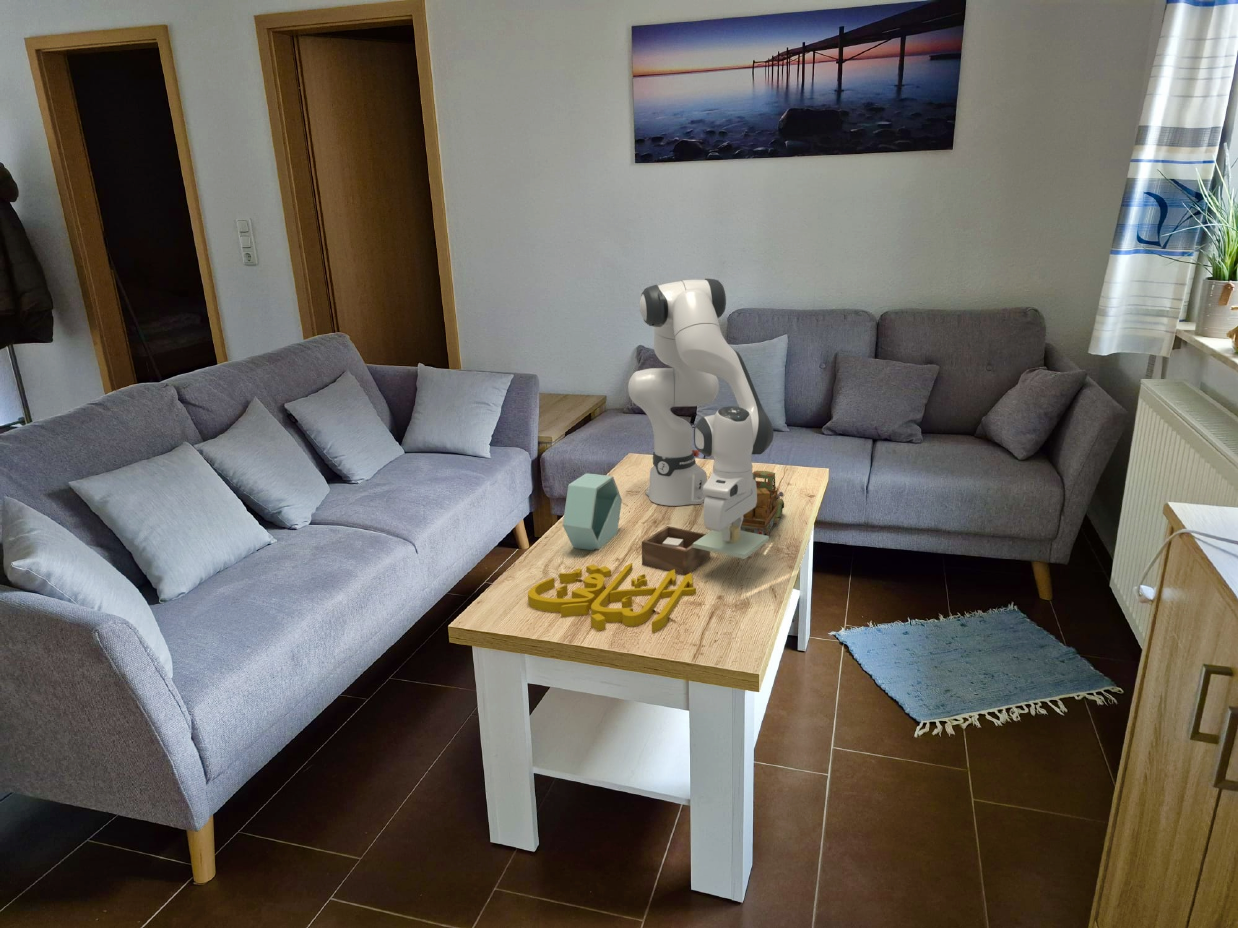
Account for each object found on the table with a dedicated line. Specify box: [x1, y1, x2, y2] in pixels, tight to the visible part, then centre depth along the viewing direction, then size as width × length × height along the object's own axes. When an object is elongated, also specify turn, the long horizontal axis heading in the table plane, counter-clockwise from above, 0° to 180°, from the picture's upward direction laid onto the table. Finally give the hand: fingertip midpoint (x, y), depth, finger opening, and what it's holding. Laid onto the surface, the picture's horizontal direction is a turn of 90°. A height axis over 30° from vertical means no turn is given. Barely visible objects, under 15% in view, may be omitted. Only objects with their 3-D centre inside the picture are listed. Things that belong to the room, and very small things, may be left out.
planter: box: [562, 472, 623, 551], centre depth 217 cm, size 17×8×21 cm
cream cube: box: [662, 537, 683, 548], centre depth 207 cm, size 4×4×4 cm
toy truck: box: [731, 470, 785, 536], centre depth 226 cm, size 11×25×15 cm, turn 157°
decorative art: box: [527, 562, 697, 633], centre depth 188 cm, size 34×3×30 cm
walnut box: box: [641, 525, 711, 577], centre depth 204 cm, size 12×12×7 cm
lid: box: [693, 524, 770, 560], centre depth 195 cm, size 13×13×4 cm
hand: (731, 536), depth 195 cm, fingers closed on lid, 3 cm apart
